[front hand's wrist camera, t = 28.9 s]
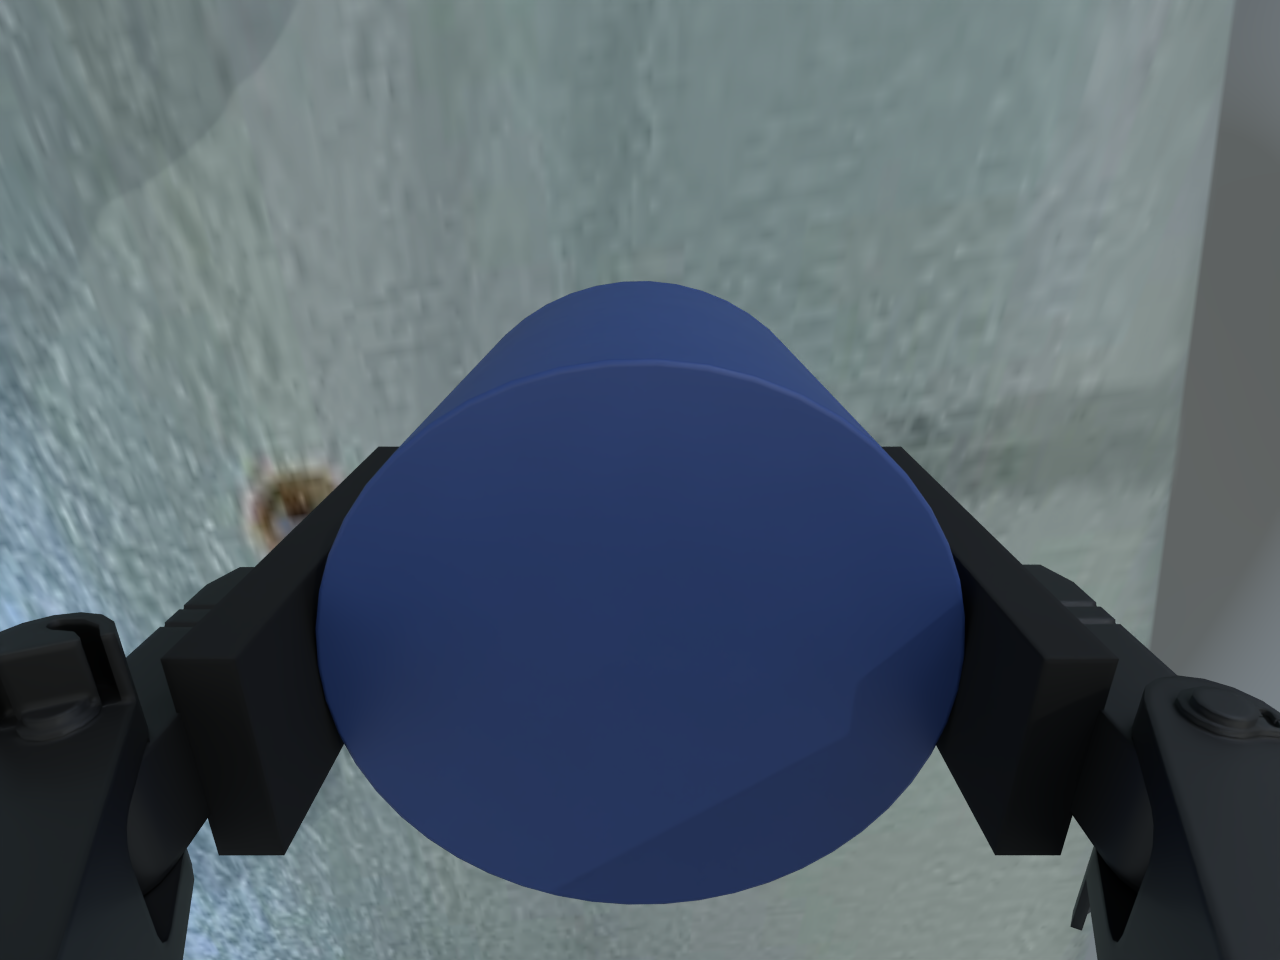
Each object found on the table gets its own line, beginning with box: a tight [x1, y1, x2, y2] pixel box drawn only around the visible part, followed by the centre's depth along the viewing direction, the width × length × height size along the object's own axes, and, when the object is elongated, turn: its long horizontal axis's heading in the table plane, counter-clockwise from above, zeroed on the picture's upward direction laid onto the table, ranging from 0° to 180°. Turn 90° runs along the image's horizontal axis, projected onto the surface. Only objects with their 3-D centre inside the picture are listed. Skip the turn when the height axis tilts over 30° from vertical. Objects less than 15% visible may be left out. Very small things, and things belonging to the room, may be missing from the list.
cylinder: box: [316, 281, 965, 904], centre depth 12 cm, size 8×8×7 cm
